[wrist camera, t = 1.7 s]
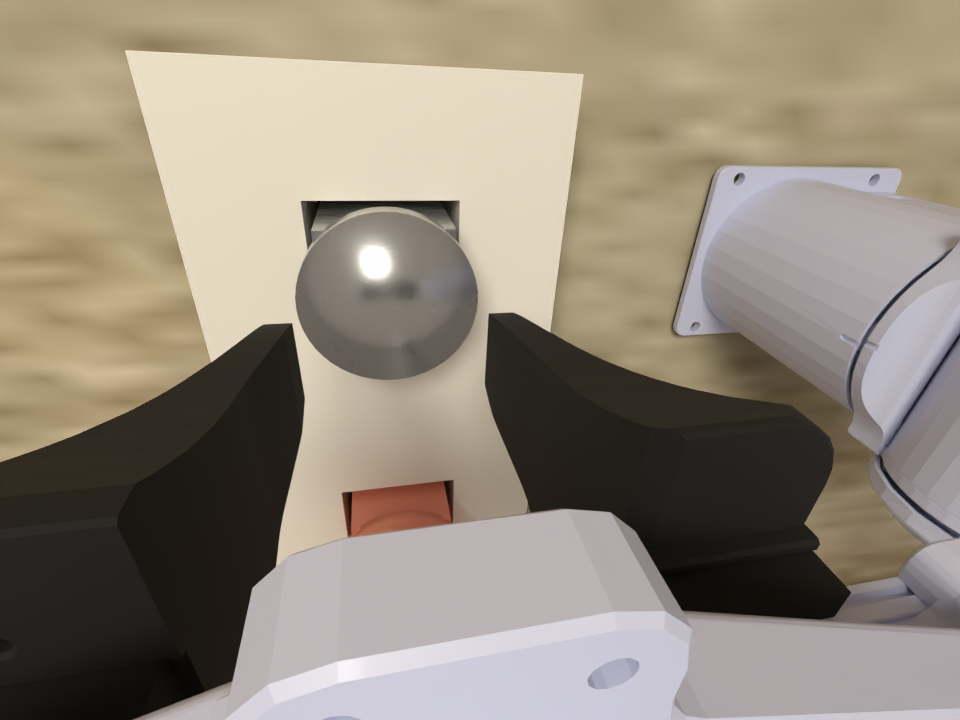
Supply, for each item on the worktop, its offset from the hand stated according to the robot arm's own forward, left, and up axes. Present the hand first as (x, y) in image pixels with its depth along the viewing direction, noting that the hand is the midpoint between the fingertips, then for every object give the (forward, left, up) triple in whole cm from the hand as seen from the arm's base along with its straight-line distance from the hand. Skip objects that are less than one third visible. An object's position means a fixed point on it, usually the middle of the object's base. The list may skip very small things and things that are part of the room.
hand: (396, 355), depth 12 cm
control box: (0, +6, -9) cm, 11 cm away
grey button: (0, 0, -8) cm, 8 cm away
